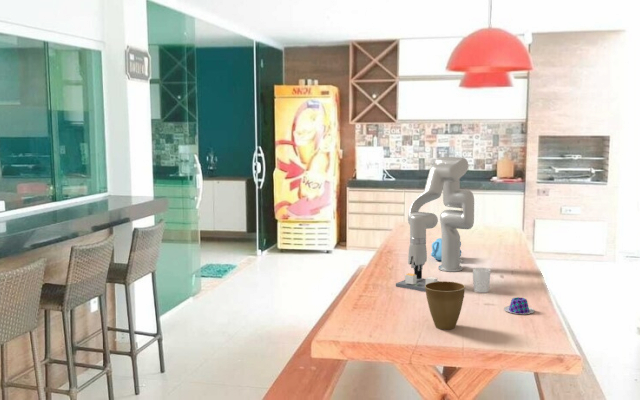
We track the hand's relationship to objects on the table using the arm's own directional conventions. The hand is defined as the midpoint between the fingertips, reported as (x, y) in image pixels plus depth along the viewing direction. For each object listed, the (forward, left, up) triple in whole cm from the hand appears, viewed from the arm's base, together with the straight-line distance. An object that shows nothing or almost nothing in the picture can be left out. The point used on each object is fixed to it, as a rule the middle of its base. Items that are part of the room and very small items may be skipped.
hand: (418, 278), depth 304 cm
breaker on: (+7, +11, -1) cm, 13 cm away
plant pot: (+48, +41, -3) cm, 64 cm away
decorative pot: (-57, -16, -3) cm, 59 cm away
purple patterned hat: (+11, +55, -4) cm, 56 cm away
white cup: (-7, +29, -3) cm, 30 cm away
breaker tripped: (+7, 0, -1) cm, 7 cm away
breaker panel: (+1, +6, -3) cm, 6 cm away
